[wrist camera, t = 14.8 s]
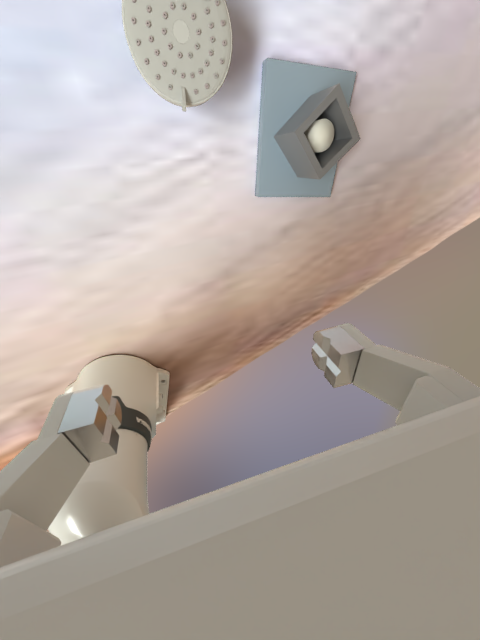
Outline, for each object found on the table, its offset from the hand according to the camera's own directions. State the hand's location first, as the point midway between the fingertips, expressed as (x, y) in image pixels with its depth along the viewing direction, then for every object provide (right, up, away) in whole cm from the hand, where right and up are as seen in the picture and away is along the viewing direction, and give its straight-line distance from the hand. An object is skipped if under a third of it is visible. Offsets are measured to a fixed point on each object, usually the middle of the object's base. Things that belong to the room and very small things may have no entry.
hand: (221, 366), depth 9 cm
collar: (+9, +26, +23) cm, 36 cm away
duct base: (+9, +27, +24) cm, 37 cm away
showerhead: (-6, +30, +17) cm, 35 cm away
